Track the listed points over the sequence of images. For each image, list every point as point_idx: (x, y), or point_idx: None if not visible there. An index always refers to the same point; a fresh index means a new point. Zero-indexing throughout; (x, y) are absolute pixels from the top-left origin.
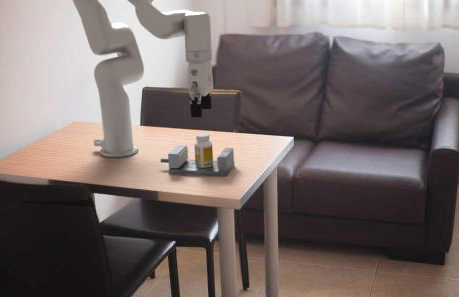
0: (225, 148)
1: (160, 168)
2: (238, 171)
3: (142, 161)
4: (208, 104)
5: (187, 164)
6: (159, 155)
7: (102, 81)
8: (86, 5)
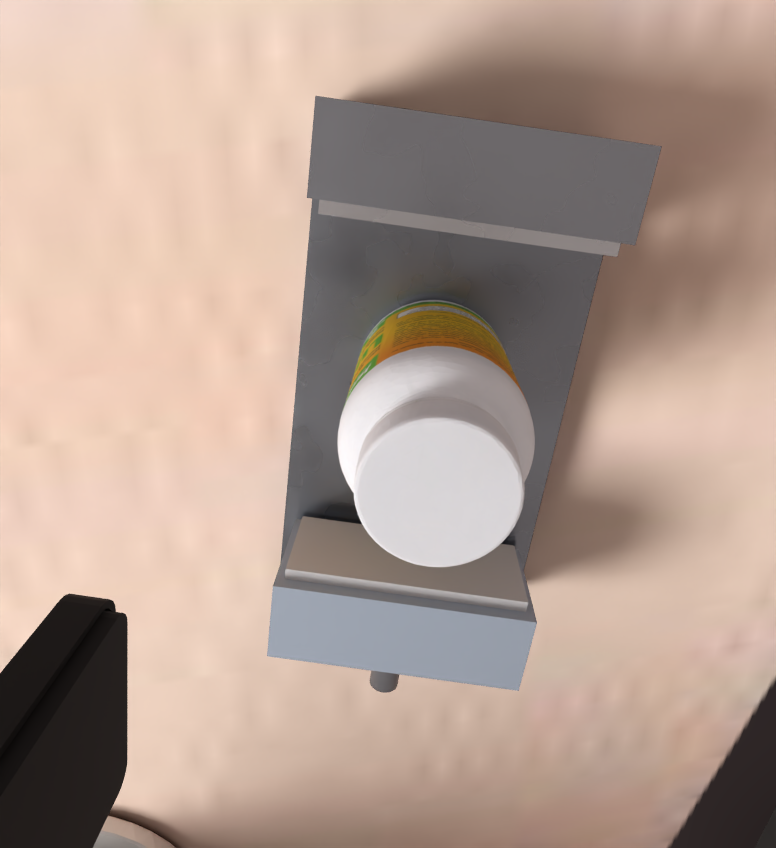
0: (338, 193)
1: None
2: (476, 50)
3: (255, 759)
4: (78, 724)
5: None
6: None
7: None
8: None
